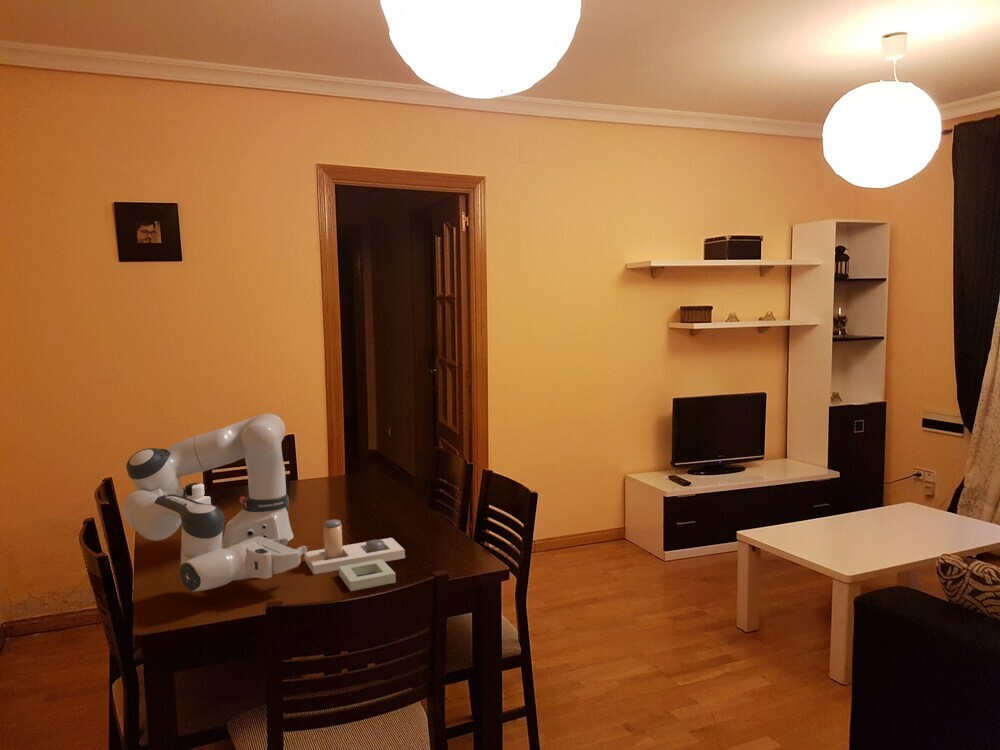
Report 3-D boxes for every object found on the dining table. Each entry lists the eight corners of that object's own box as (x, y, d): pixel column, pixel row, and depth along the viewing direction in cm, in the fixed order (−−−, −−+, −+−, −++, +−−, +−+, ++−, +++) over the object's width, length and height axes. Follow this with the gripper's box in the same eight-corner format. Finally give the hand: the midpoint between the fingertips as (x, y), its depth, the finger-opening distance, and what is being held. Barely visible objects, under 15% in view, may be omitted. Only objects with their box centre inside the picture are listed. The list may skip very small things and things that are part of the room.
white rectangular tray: (313, 574, 195) (313, 560, 195) (304, 560, 206) (304, 547, 206) (405, 558, 207) (404, 544, 206) (392, 545, 217) (391, 532, 217)
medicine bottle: (180, 520, 247) (178, 485, 245) (196, 514, 253) (194, 480, 252) (196, 522, 244) (194, 487, 243) (212, 516, 250) (210, 482, 249)
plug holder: (350, 591, 184) (350, 581, 183) (339, 575, 194) (338, 566, 194) (395, 582, 189) (395, 573, 189) (382, 567, 200) (381, 558, 199)
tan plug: (327, 567, 200) (325, 525, 199) (323, 561, 205) (321, 520, 204) (345, 564, 203) (343, 523, 201) (340, 558, 207) (338, 518, 206)
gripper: (228, 561, 191) (275, 547, 201) (270, 580, 177) (317, 564, 187) (227, 538, 190) (274, 525, 200) (268, 556, 176) (316, 541, 187)
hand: (295, 544), depth 194 cm, fingers open, 8 cm apart
